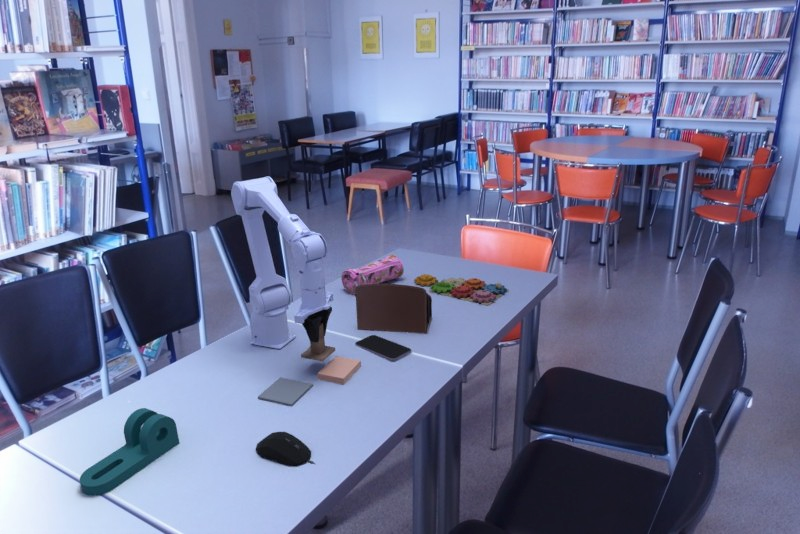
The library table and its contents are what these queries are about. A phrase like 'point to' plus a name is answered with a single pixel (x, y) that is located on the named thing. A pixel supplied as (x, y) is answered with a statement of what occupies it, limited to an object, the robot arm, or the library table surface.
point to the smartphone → (383, 347)
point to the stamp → (318, 348)
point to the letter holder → (393, 308)
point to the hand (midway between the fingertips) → (317, 338)
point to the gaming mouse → (284, 449)
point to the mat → (285, 391)
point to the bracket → (132, 451)
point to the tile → (339, 370)
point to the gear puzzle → (464, 289)
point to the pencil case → (372, 273)
